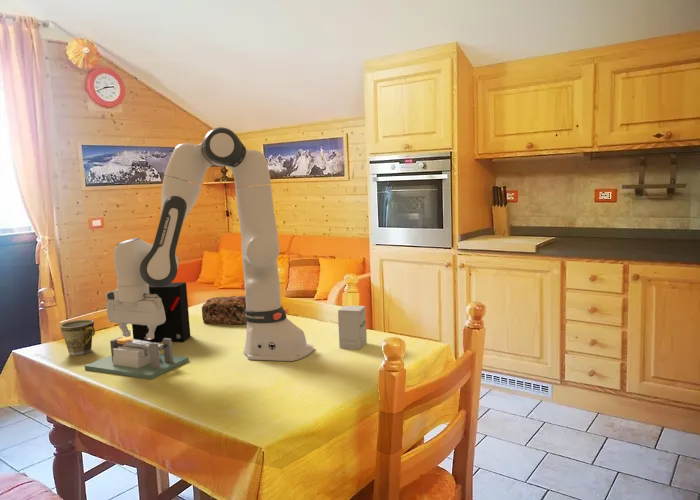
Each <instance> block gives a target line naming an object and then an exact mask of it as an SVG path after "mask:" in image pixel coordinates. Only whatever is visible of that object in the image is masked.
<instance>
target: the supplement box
mask: <svg viewBox="0 0 700 500" xmlns="http://www.w3.org/2000/svg"><path fill="white" fill-rule="evenodd" d="M337 317H338V319H337V320H338V321H337V322H338V344H339V349H346V350H347V349H349V350H361V349H362V348H363V347H364V346H365V344H367V343H368V341H367V340H368V339H367V312H366V306H365V305H344V306H343V307H341V308H339V309H338V311H337Z"/></svg>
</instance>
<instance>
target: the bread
mask: <svg viewBox="0 0 700 500" xmlns="http://www.w3.org/2000/svg"><path fill="white" fill-rule="evenodd" d="M245 309H246V298H245V295H240V296H235V295H231V296H217V297H211V298H209V299H207V300H206V301H205V303H204V304H203V305H202V306H201V315H202V316H201V317H202V320H203V321H202V322H203V324H212V325H213V324H215V325H247V323H246V320H245Z"/></svg>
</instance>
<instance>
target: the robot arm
mask: <svg viewBox="0 0 700 500" xmlns="http://www.w3.org/2000/svg"><path fill="white" fill-rule="evenodd" d="M268 166H269V165H268V163H267V159H266V156H265V155H264V153H263V152H261V151H259V150H257V149H247V148H246V146H245V145H244V144H243V142H242V140H241V139H240V138H239V137H238V135H237V134H236V133H235V132H234V131H233V130H231V129H230V128H227V127H222V126H219V127H214V128H213V129H210V130H209V131H208V132H207V133H206V135H205V136H204V138H203V140H202V142H201V143H199V144H194V143H190V142H189V143H188V142H185V143H184V142H183V143H180V144H178V145H176V146H175V148H174V149H173V151H172V153H171V155H170V158H169V161H168V163H167V166H166V169H165V171H164V175H163V179H162V184H161V185H162V186H161V195H160V196H161V197H160V198H161V199H160V202H161V203H160V218H159V223H158V227H157V229H156V233H155V237H154V240H153V243H152V244H151V243H148V242H147V241H144V240H142V239H141V238H139V237H138V238H137V237H136V238H130V239H126V240H124V241H120V242H118V244H116V245H115V247H114V251H113V264H114V265H113V266H114V272H115V274H116V288H115V289H113V290H110V291H108V292H105V294H104V296H105V300H107V301H106V315H107V319H108V321H109V323H115V324H116V323H117V324H118V327H119V329H120V330H121V332H122V337H127V338H130V337H131V336H132V333H131V332H132V331H131V330H130V329H129V328H128V326H127V325H128V324H129V325H130V324H131V325H132V324H139V325H148V329H149V332H148V333H147V334H146V336H147V337H146V338H147V339H154V332H155V329H156V326H158V325H161V324H164V323H165V321H166V316H165V311H164V307H163V304H162V300H161V298H160V297H159V296H158V295H157V294H150V293H149V285H151V286H155V287H163V286H166V285H168V284H170V283H173V281H175V279H176V277H177V274H178V268H179V266H180V265H179V263H180V260H179V257H178V254H177V253H176V252H177V247H178V244H179V243H178V242H179V239H180V235H181V232H182V227H183V226H184V222H185V220H186V219H187V216H188V215H189V213H190V212H191V211H192V210H193V208H194V206H195V205H196V202H197V200H198V197H199V195H200V193H201V191H202V186H203V182H204V178H205V175H206V172H207V170H208V169H209V168H212V167H213V168H214V167H215V168H216V167H217V168H219V167H228V168H229V169H230V170H231V172H232V175H233V179H234V189H235V199H236V206H237V215H238V221H239V229H240V236H241V244H240V245H241V246H240V247H241V249H240V250H241V259H242V270H243V282H244V293H245V295H244V296H245V298H246V309H245V320H246V335H245V336H246V337H245V338H246V339H245V346H244V350H243V353H244V355H245V356H246V357H247V360H252V361H253V360H254V361H256V360H257V361H281V362H282V361H283V362H284V361H285V362H286V361H287V362H292V361H293V362H294V361H297V360H300V359H303V358H305V357H307V356H309V355H310V354H311V353H313V351H314V349H315V348H314V345H313V344H309V343H307V339H306V338H307V337H306V335H305V332H304V331H303V329H301V328H300V327H299V326H297V325H296V324H295V323H293V322H292V321H291V320H290V319H288V318H287V317H288V316H287V314H289V309H284V306H282V301H281V300H282V298H281V283H280V277H279V275H280V274H279V269H278V259H279V256H280V250H281V248H280V243H279V242H280V240H279V234H278V233H279V232H278V228H277V221H276V215H275V209H274V201H273V200H274V198H273V192H272V190H273V189H272V181H271V180H272V179H271V176H270V169H269V167H268ZM157 297H158V298H157Z"/></svg>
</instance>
